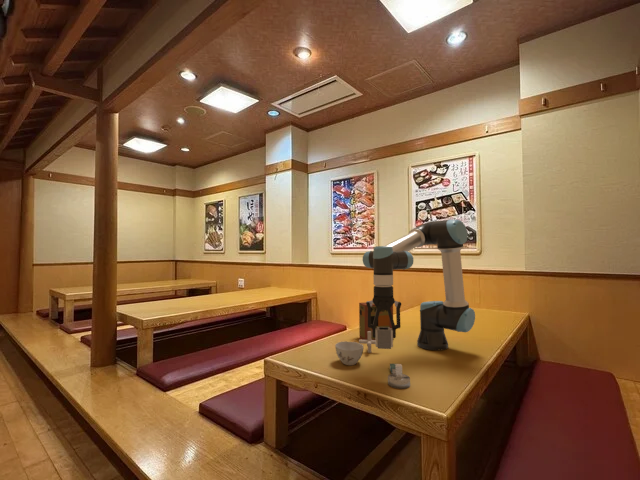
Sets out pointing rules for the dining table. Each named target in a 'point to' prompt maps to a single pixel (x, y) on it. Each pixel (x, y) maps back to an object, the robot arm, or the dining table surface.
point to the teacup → (349, 352)
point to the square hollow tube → (384, 337)
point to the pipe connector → (368, 341)
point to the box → (372, 319)
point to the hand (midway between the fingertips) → (384, 346)
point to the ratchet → (398, 377)
